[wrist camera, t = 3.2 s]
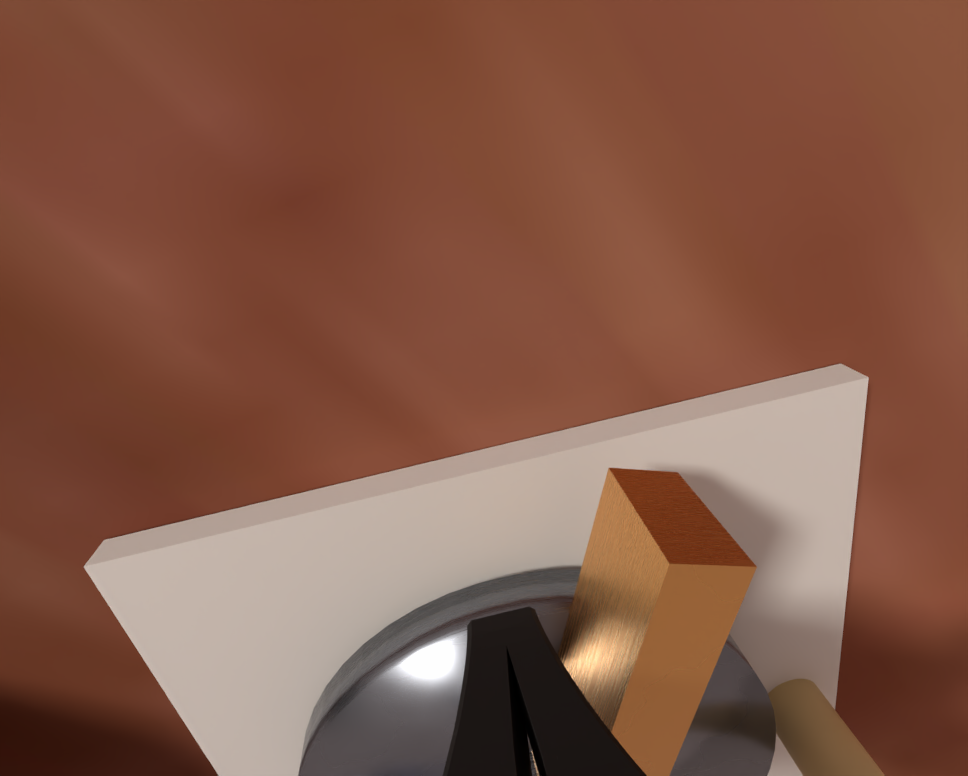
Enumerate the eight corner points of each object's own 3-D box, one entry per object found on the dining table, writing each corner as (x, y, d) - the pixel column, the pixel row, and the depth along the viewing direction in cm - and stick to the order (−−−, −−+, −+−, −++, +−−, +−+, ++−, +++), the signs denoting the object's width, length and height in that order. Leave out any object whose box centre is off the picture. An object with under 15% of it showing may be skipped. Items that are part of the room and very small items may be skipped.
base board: (809, 768, 23) (925, 946, 17) (322, 898, 22) (298, 1122, 17) (840, 363, 15) (1056, 470, 10) (103, 539, 14) (-58, 750, 9)
